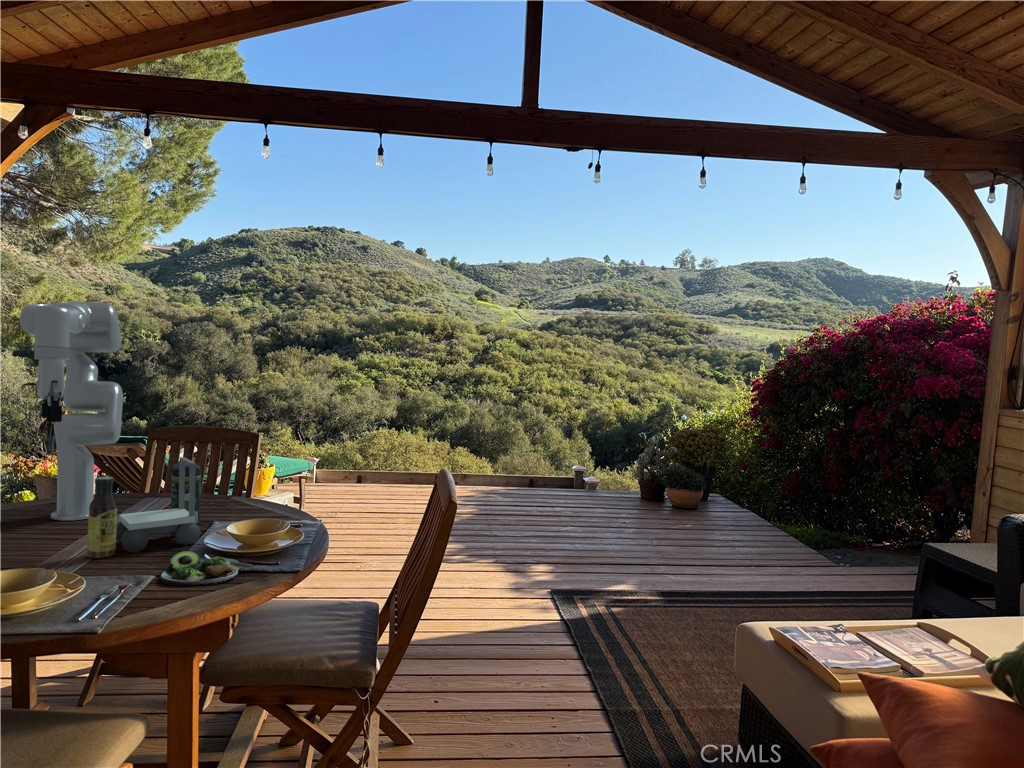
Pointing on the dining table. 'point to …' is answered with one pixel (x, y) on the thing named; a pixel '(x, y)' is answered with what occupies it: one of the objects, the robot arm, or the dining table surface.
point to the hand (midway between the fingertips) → (51, 419)
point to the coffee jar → (176, 489)
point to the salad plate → (198, 569)
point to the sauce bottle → (102, 520)
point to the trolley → (162, 518)
